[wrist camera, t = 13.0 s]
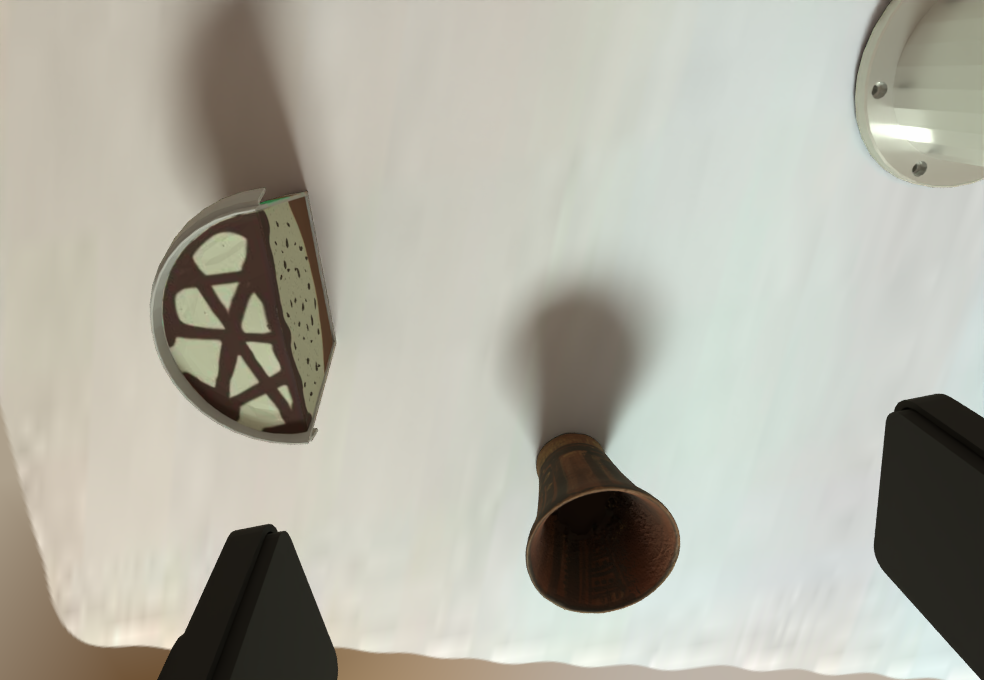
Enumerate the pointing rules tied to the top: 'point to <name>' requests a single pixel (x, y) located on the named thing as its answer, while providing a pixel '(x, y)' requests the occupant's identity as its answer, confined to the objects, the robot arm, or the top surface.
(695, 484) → the top surface
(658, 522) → the cup
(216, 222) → the food container
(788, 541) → the top surface
